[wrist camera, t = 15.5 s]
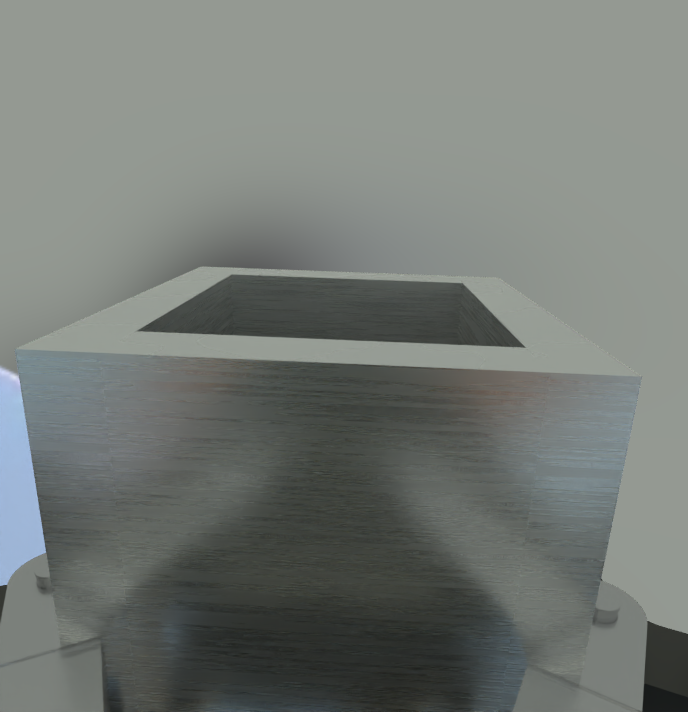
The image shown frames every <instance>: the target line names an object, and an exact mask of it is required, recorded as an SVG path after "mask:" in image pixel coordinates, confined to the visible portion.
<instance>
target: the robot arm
mask: <svg viewBox="0 0 688 712" xmlns="http://www.w3.org/2000/svg"><path fill="white" fill-rule="evenodd" d="M0 712H111V704H110V696H109V686H108V675H107V667H106V659H105V651H104V643H103V640H102V636H98V637H95V638H91V639H88V640H84V641H80V642H77V643H72V642H60V638H59V631H58V625H57V618H56V612H55V606H54V599H53V593H52V586H51V580H50V573H49V567H48V560H47V554H46V553H45V554H42V555H40V556H38V557H35V558H33V559H32V560H30V561H28V562H26V563H25V564H24V565H22V566H21V567H20V568H19V569H17V570H16V571H15V573H14V574H13V575H12V576H11V578H10V580H9V582H8V585H3V586H0ZM513 712H688V634H686V633H682V632H679V631H675V630H672V629H668V628H665V627H662V626H659V625H656V624H653V623H651V622H649V621H647V617H646V614H645V612H644V611H643V609H642V607H641V606H640V605H639V604H638V602H636V600H634V599H633V598H632V597H631V596H630V595H628V594H627V593H626V592H624V591H623V590H621V589H619V588H618V587H616V586H614V585H611V584H609V583H606V582H604V581H602V579H601V581H600V586H599V591H598V596H597V601H596V606H595V611H594V616H593V621H592V626H591V631H590V635H589V640H588V645H587V650H586V655H585V660H584V665H583V670H582V675H581V676H578V675H562V674H554V673H552V672H549V671H547V670H545V669H543V668H540V667H538V666H536V665H533V664H531V663H528V665H527V668H526V671H525V674H524V677H523V680H522V683H521V686H520V690H519V693H518V696H517V699H516V702H515V706H514V709H513Z"/></svg>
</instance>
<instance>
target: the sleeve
mask: <svg viewBox="0 0 688 712" xmlns="http://www.w3.org/2000/svg"><path fill="white" fill-rule="evenodd" d="M15 354H16V360H17V366H18V373H19V379H20V386H21V392H22V399H23V405H24V412H25V418H26V425H27V431H28V438H29V444H30V450H31V457H32V463H33V470H34V476H35V483H36V489H37V496H38V502H39V509H40V515H41V522H42V528H43V534H44V541H45V547H46V554H47V560H48V567H49V573H50V580H51V586H52V593H53V599H54V606H55V612H56V618H57V625H58V631H59V638H60V642H72V643H77V642H80V641H84V640H88V639H91V638H95V637H98V636H102V640H103V643H104V651H105V659H106V667H107V675H108V686H109V696H110V704H111V712H513V709H514V706H515V702H516V699H517V696H518V693H519V690H520V686H521V683H522V680H523V677H524V674H525V671H526V668H527V665H528V663H531V664H533V665H536V666H538V667H540V668H543V669H545V670H547V671H549V672H552V673H554V674H562V675H578V676H581V675H582V670H583V665H584V660H585V655H586V650H587V645H588V640H589V635H590V631H591V626H592V621H593V616H594V611H595V606H596V601H597V596H598V591H599V586H600V581H601V576H602V571H603V566H604V561H605V556H606V552H607V547H608V542H609V537H610V532H611V527H612V522H613V517H614V512H615V507H616V502H617V497H618V492H619V487H620V483H621V478H622V473H623V468H624V463H625V458H626V453H627V448H628V443H629V438H630V433H631V429H632V424H633V418H634V414H635V409H636V404H637V399H638V394H639V388H640V384H641V379H642V376H640V375H639V374H637V373H636V372H635V371H633V370H632V369H630V368H629V367H627V366H626V365H624V364H623V363H621V362H620V361H619V360H617V359H616V358H614V357H613V356H611V355H610V354H608V353H607V352H606V351H604V350H603V349H601V348H600V347H598V346H597V345H595V344H594V343H592V342H591V341H590V340H588V339H586V338H585V337H584V336H582V335H581V334H579V333H578V332H576V331H575V330H573V329H572V328H571V327H569V326H568V325H566V324H565V323H563V322H562V321H560V320H559V319H558V318H556V317H555V316H553V315H552V314H550V313H549V312H547V311H546V310H545V309H543V308H542V307H540V306H539V305H537V304H536V303H534V302H533V301H531V300H530V299H529V298H527V297H526V296H524V295H523V294H521V293H520V292H518V291H517V290H515V289H514V288H513V287H511V286H510V285H508V284H507V283H505V282H504V281H502V280H501V279H500V278H489V277H463V276H437V275H410V274H383V273H356V272H330V271H303V270H276V269H249V268H222V267H199V268H197V269H195V270H192V271H190V272H188V273H186V274H183V275H181V276H179V277H177V278H174V279H172V280H170V281H167V282H165V283H163V284H161V285H158V286H156V287H154V288H152V289H149V290H148V291H145V292H143V293H141V294H138V295H136V296H134V297H132V298H129V299H127V300H125V301H123V302H120V303H118V304H116V305H113V306H111V307H109V308H107V309H104V310H102V311H100V312H97V313H95V314H93V315H91V316H88V317H86V318H84V319H82V320H79V321H77V322H75V323H73V324H70V325H68V326H66V327H64V328H61V329H59V330H57V331H55V332H52V333H50V334H48V335H46V336H43V337H41V338H39V339H37V340H34V341H32V342H30V343H27V344H25V345H23V346H21V347H18V348H16V349H15Z"/></svg>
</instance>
